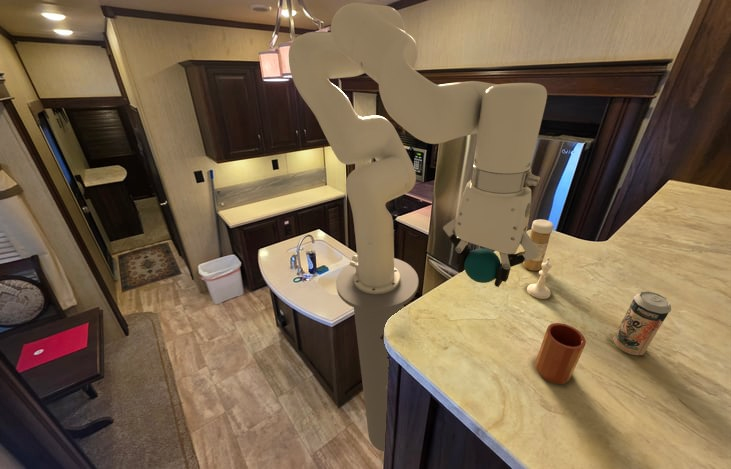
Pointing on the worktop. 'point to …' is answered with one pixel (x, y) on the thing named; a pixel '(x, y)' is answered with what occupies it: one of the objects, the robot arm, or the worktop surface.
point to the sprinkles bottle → (539, 242)
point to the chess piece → (541, 283)
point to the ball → (482, 265)
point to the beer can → (641, 322)
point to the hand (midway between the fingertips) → (480, 274)
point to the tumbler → (559, 353)
